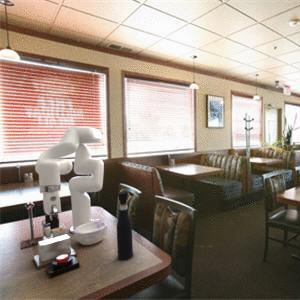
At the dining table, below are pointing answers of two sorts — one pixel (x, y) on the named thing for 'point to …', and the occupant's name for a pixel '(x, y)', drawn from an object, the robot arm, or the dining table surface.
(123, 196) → the wine bottle
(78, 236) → the white round bowl
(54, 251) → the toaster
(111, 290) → the dining table surface
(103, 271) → the dining table surface
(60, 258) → the button
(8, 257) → the dining table surface
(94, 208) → the dining table surface
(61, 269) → the control block
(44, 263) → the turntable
